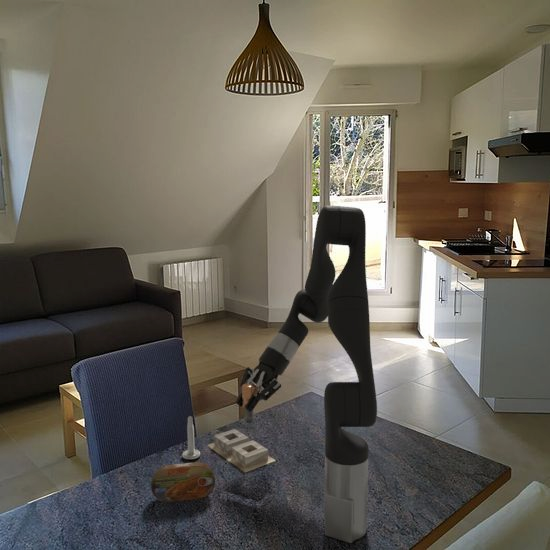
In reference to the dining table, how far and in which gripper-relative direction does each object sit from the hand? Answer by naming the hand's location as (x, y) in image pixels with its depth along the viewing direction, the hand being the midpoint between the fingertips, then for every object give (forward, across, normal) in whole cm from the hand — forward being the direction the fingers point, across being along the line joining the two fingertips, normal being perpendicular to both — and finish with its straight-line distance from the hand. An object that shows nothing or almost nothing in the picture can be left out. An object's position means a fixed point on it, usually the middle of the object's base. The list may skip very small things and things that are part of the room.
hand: (243, 407), depth 147 cm
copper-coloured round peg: (+2, 0, +5) cm, 5 cm away
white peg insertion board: (+10, -4, +13) cm, 17 cm away
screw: (+19, -11, +5) cm, 22 cm away
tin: (+26, +3, -2) cm, 26 cm away
